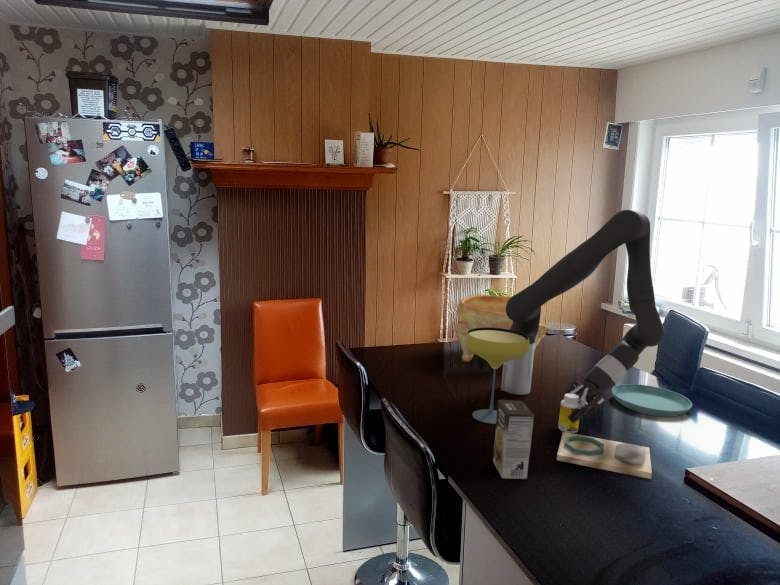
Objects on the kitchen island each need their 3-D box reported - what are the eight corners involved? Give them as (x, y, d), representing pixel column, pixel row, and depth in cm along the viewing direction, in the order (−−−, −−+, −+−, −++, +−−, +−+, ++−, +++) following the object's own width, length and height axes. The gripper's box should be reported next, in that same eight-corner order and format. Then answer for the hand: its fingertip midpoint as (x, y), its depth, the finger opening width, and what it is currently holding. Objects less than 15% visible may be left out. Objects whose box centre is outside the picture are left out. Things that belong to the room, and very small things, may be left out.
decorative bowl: (433, 347, 253) (437, 293, 249) (508, 345, 264) (513, 293, 260) (467, 373, 221) (472, 311, 217) (551, 369, 232) (557, 310, 228)
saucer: (643, 422, 183) (645, 411, 183) (595, 394, 206) (596, 385, 205) (708, 417, 190) (710, 407, 190) (655, 391, 213) (656, 382, 212)
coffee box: (491, 461, 151) (497, 399, 148) (516, 461, 151) (522, 399, 149) (501, 479, 142) (507, 413, 139) (528, 479, 143) (534, 413, 140)
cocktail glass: (523, 411, 186) (531, 331, 182) (519, 433, 169) (528, 346, 165) (464, 402, 191) (471, 324, 186) (455, 423, 174) (461, 338, 169)
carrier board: (556, 460, 153) (558, 445, 153) (562, 436, 168) (563, 423, 168) (651, 478, 146) (653, 463, 145) (648, 452, 161) (650, 438, 160)
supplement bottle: (569, 435, 170) (573, 400, 168) (553, 428, 174) (557, 393, 172) (582, 431, 173) (586, 397, 171) (566, 424, 177) (570, 391, 175)
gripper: (584, 358, 179) (543, 398, 178) (613, 373, 165) (570, 417, 164) (598, 375, 181) (558, 414, 180) (628, 391, 167) (585, 434, 167)
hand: (564, 415), depth 172 cm, fingers open, 6 cm apart
